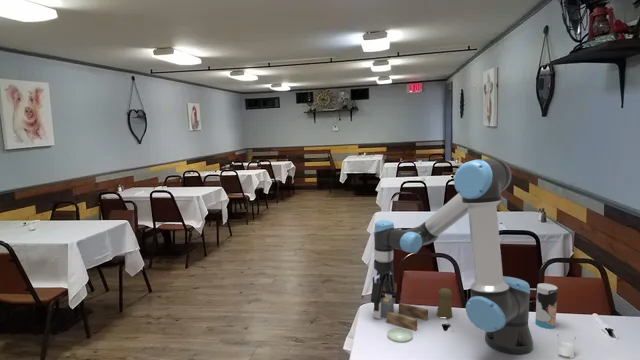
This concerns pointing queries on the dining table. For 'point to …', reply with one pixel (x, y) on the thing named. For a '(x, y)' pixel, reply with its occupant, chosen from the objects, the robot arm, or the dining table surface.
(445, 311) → the cork
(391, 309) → the plug
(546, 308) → the cup
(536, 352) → the dining table surface
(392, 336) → the saucer
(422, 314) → the guide channel
